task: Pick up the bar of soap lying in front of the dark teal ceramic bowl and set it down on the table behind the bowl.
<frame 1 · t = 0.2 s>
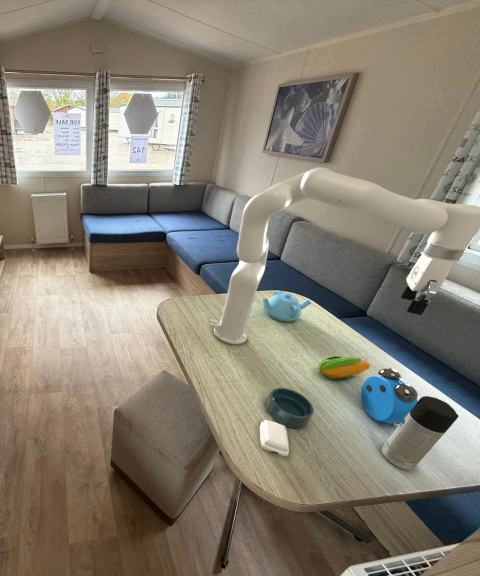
hand: (410, 305, 91), 31 cm above the table, tool pointing down, fingers open, 9 cm apart
alarm clock: (376, 415, 94), on the table
corn: (340, 374, 109), on the table
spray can: (396, 459, 81), on the table
soap: (273, 439, 86), on the table
teapot: (281, 315, 143), on the table
bowl: (286, 413, 93), on the table
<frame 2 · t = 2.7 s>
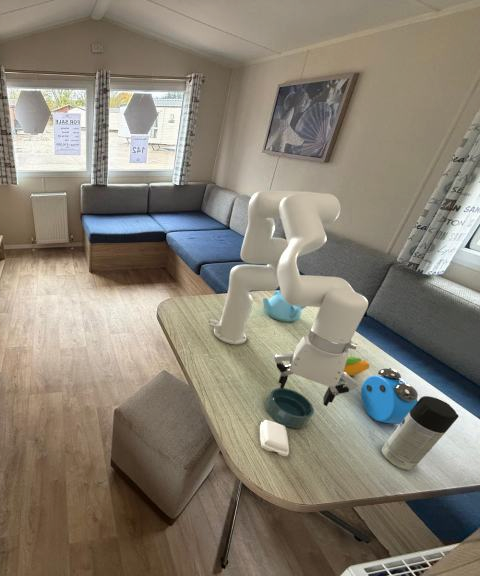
hand: (302, 393, 80), 16 cm above the table, tool pointing down, fingers open, 9 cm apart
nothing on the table moved.
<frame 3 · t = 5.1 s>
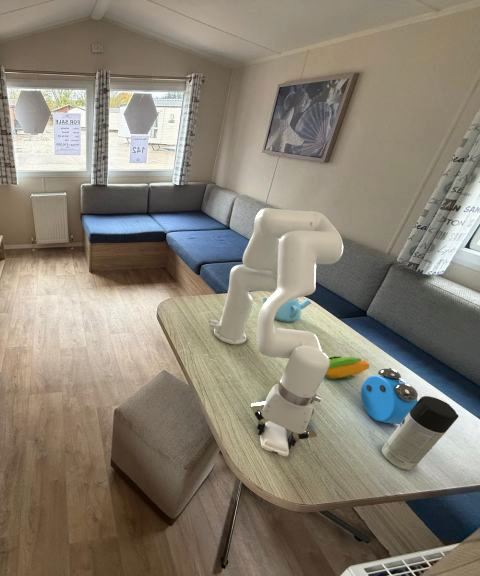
hand: (274, 437, 85), 1 cm above the table, tool pointing down, fingers closed on soap, 6 cm apart
soap: (273, 439, 86), on the table, touching gripper
everything else where it was.
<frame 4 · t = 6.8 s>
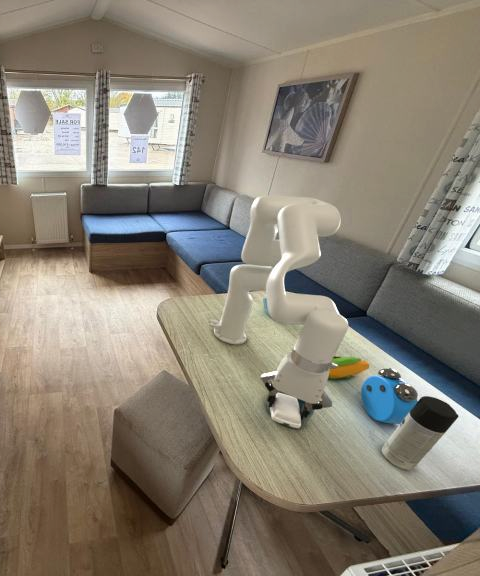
hand: (285, 409, 81), 11 cm above the table, tool pointing down, fingers closed on soap, 6 cm apart
soap: (284, 412, 82), point 10 cm above the table, touching gripper
everything else where it was.
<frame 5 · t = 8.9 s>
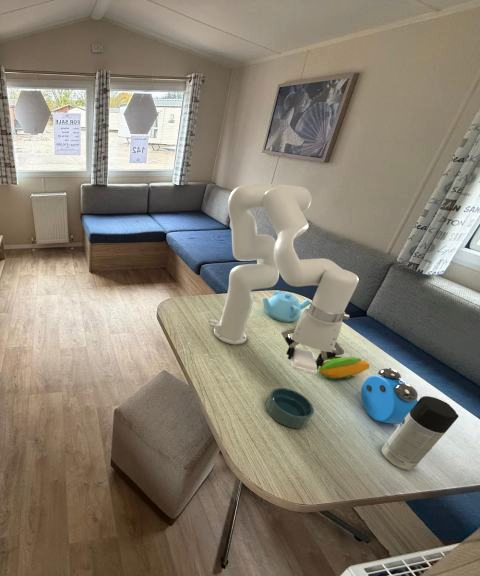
hand: (302, 361, 94), 14 cm above the table, tool pointing down, fingers closed on soap, 6 cm apart
soap: (301, 363, 94), point 13 cm above the table, touching gripper
everything else where it was.
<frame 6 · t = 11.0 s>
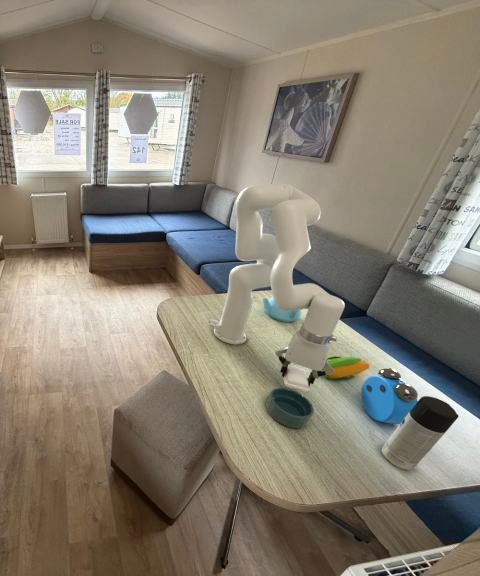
hand: (295, 378, 100), 5 cm above the table, tool pointing down, fingers closed on soap, 6 cm apart
soap: (294, 380, 100), point 4 cm above the table, touching gripper
everything else where it was.
when the fingers open (1 cm above the table, at t = 12.6 s): soap stays where it is, on the table.
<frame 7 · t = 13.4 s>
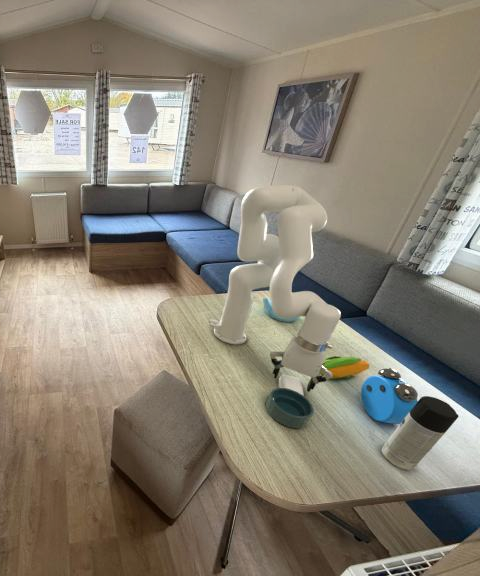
hand: (291, 382, 101), 3 cm above the table, tool pointing down, fingers open, 9 cm apart
soap: (290, 389, 102), on the table
everything else where it was.
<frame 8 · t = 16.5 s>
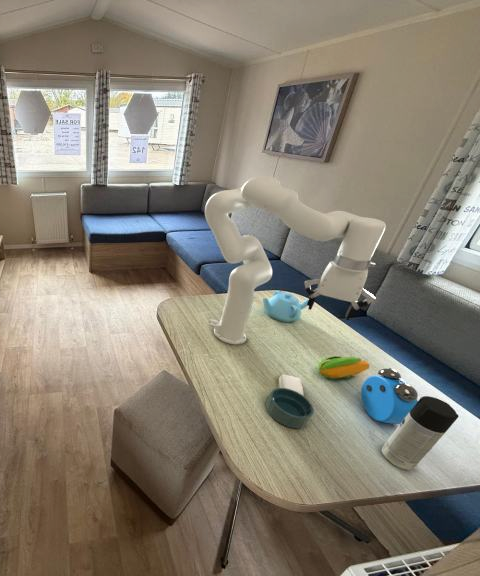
hand: (327, 312, 95), 26 cm above the table, tool pointing down, fingers open, 9 cm apart
nothing on the table moved.
at the end: soap inside the target area on the table beside the bowl (0.6 cm from its centre), on the table; soap tilted 0°; the gripper is holding nothing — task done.
